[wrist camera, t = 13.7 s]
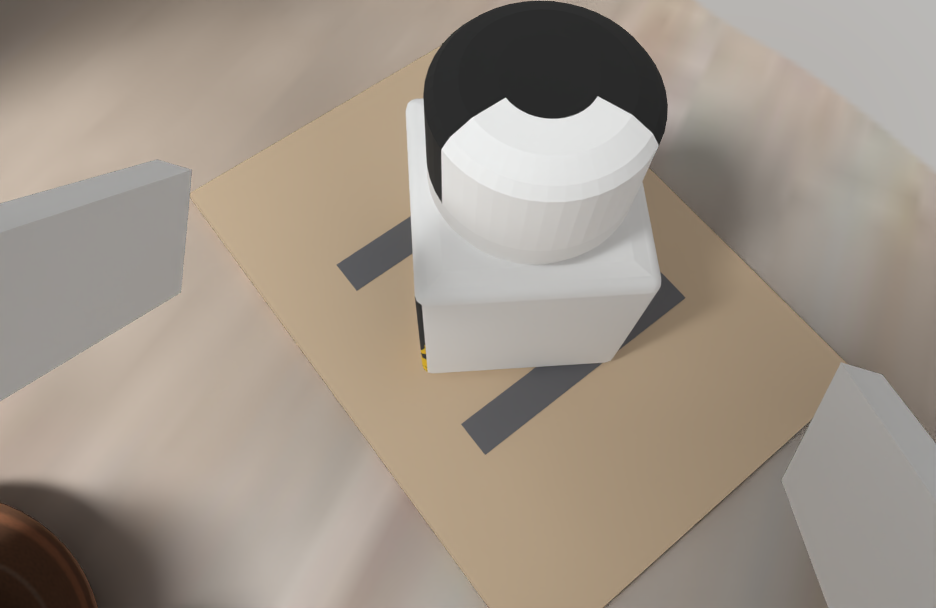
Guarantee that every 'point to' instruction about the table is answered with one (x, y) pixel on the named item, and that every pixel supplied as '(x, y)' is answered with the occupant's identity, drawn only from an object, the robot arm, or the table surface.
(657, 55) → the table surface
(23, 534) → the cup and saucer
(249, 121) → the table surface
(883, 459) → the robot arm
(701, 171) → the table surface
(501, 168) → the medicine bottle
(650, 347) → the letter card
